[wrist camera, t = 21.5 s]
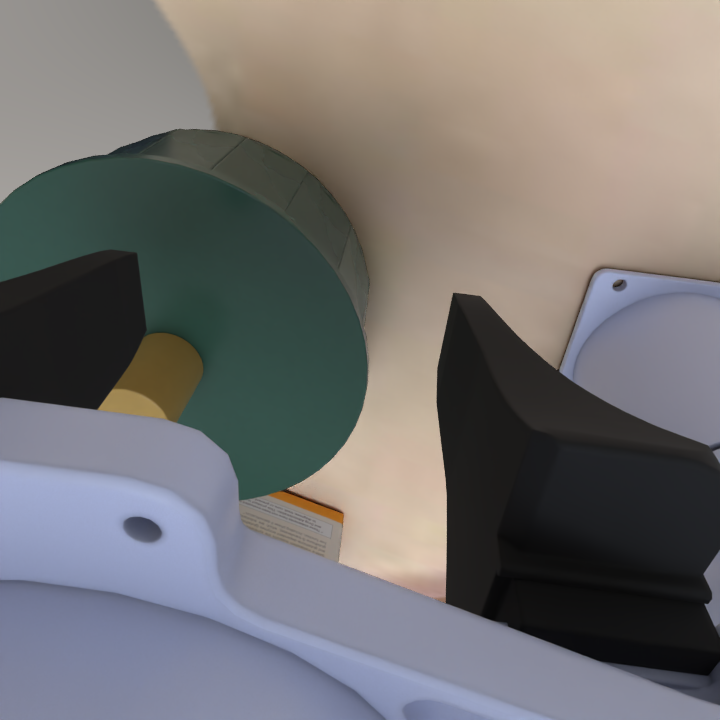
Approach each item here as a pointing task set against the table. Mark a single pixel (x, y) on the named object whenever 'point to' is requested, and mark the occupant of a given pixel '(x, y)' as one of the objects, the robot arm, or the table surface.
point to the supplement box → (295, 522)
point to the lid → (210, 307)
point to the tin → (271, 191)
